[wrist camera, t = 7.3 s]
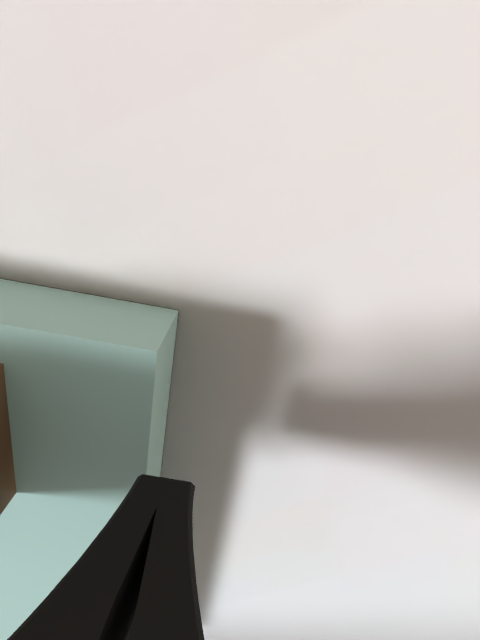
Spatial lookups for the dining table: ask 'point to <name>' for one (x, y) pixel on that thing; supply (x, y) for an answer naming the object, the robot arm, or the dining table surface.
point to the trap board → (74, 426)
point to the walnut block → (5, 449)
